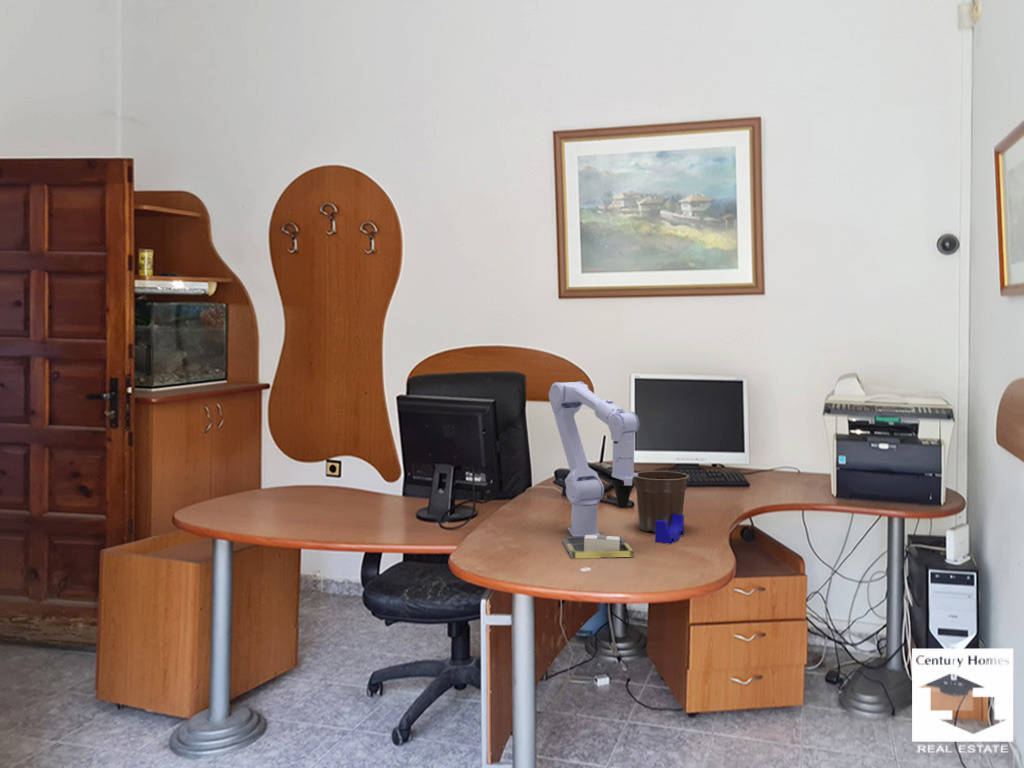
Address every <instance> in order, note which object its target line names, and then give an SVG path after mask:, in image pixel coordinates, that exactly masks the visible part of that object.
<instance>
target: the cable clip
mask: <svg viewBox="0 0 1024 768" xmlns="http://www.w3.org/2000/svg"><path fill="white" fill-rule="evenodd" d="M684 525H685V514H683V515H680V514H672V520H671V524H670V527H669V528H668V521H661V520H657V521H656V523H655V533H654V542H655V543H659V542H662V543H661V544H665V543H669V544H668V545H672V544H673V543H672V542H674V543H676V542H678V541H677V540H679V539H681V537H682V536H681V535H683V536H684V535H685V534H684V533H685V532H684V530H685V526H684ZM680 536H681V537H680ZM675 541H676V542H675ZM679 541H680V540H679ZM671 543H672V544H671Z"/></svg>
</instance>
